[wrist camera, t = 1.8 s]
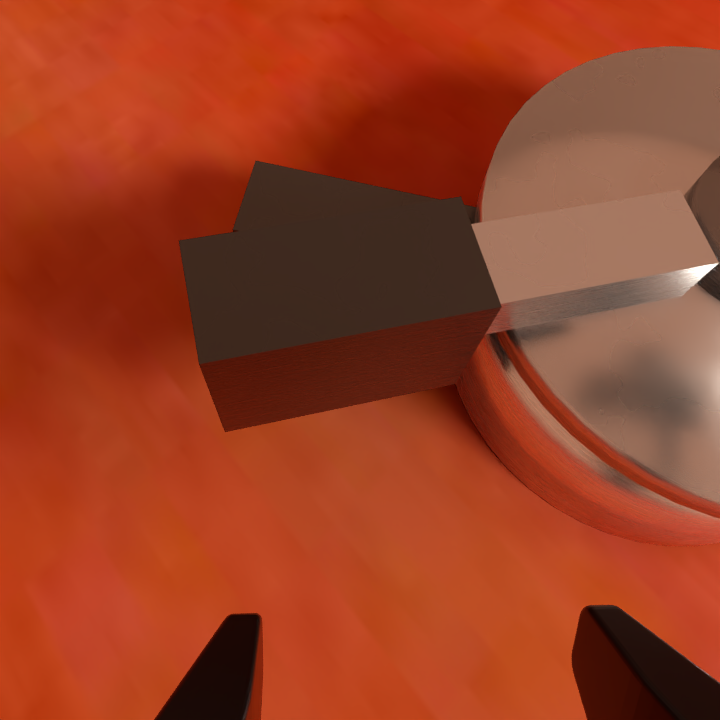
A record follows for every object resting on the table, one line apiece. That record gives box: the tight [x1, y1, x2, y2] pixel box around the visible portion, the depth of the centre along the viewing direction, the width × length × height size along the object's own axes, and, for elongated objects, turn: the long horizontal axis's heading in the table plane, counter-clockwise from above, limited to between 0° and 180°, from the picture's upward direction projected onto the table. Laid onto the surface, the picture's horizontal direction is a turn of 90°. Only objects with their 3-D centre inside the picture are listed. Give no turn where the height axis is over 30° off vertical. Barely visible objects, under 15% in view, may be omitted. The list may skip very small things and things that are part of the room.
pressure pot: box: [233, 161, 720, 546], centre depth 23 cm, size 26×16×6 cm, turn 79°
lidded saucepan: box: [179, 46, 720, 518], centre depth 19 cm, size 25×17×5 cm
